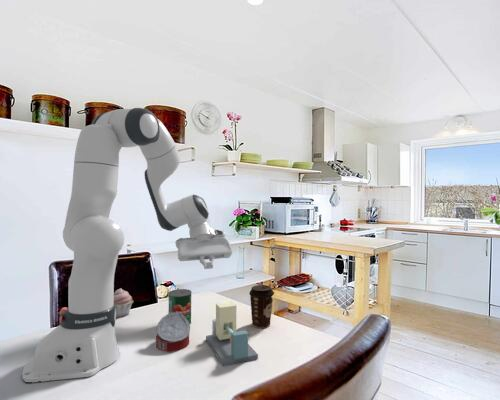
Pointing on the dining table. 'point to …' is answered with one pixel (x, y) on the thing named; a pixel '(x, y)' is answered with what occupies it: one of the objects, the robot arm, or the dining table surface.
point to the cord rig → (231, 346)
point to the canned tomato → (180, 302)
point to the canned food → (172, 332)
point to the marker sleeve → (225, 319)
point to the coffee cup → (261, 305)
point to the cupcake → (122, 302)
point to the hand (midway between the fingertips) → (208, 267)
